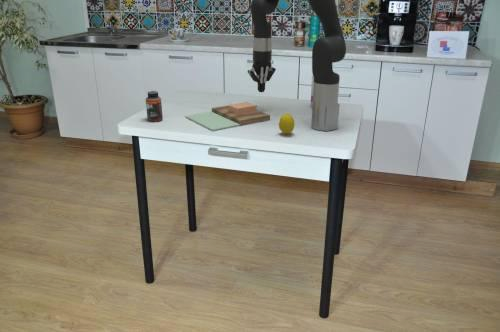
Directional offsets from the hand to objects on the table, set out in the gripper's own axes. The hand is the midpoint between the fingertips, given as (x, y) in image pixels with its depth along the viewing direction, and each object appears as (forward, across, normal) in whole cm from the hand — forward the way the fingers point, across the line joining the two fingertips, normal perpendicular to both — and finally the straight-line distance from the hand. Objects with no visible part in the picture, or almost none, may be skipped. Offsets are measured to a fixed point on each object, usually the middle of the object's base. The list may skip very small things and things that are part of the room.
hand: (261, 91), depth 195 cm
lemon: (+8, -10, -30) cm, 32 cm away
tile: (+7, -10, 0) cm, 12 cm away
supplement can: (+9, +25, -8) cm, 28 cm away
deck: (+9, -11, -1) cm, 14 cm away
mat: (+9, -24, -1) cm, 25 cm away
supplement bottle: (+9, -42, +13) cm, 45 cm away
